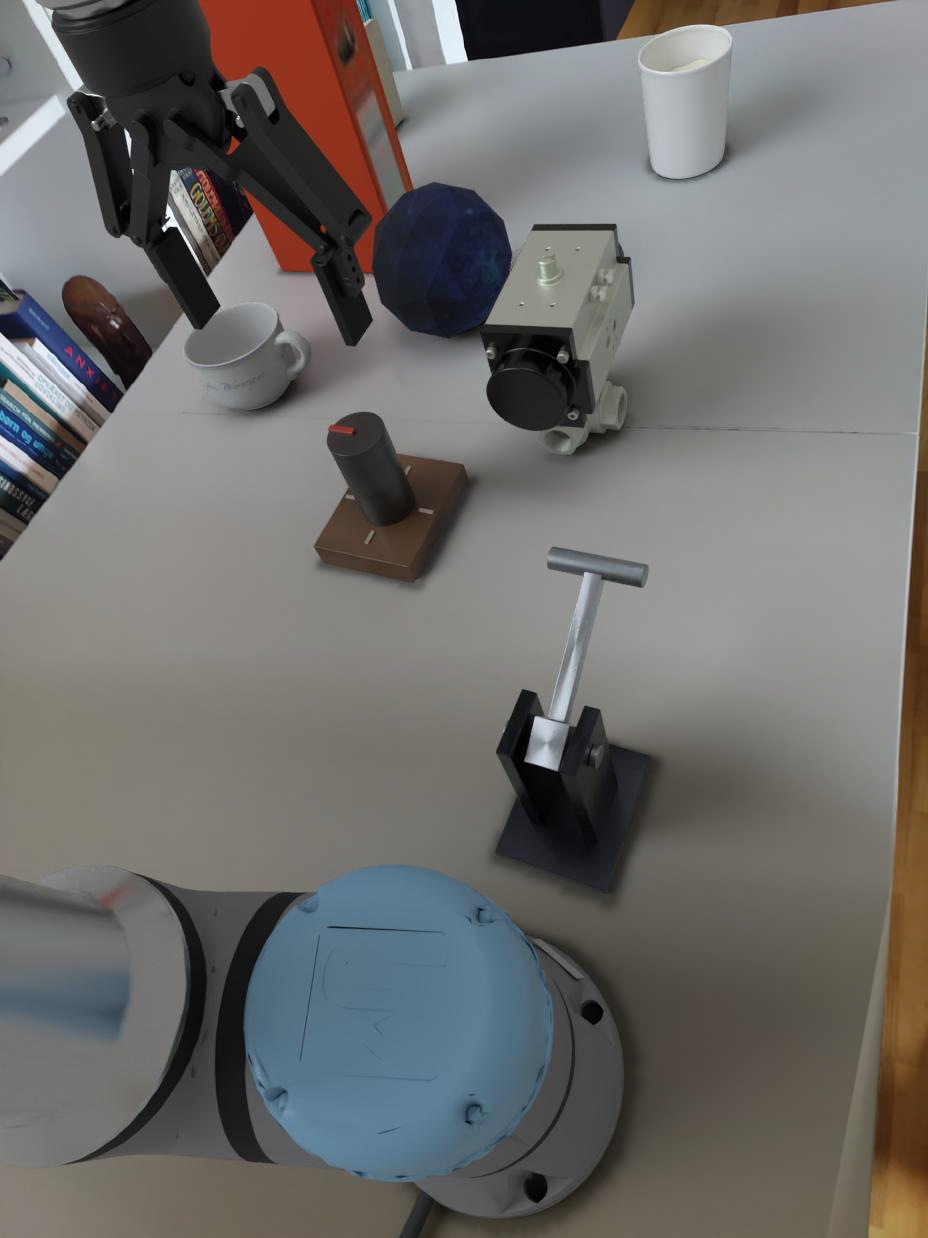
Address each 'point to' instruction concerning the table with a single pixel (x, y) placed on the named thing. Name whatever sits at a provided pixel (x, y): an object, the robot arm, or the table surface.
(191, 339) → the teacup
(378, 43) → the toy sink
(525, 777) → the tap bracket
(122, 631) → the table surface
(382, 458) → the dial knob
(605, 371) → the ball valve
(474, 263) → the decorative orb
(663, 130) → the candle holder
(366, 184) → the file binder
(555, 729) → the tap lever
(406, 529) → the dial panel
